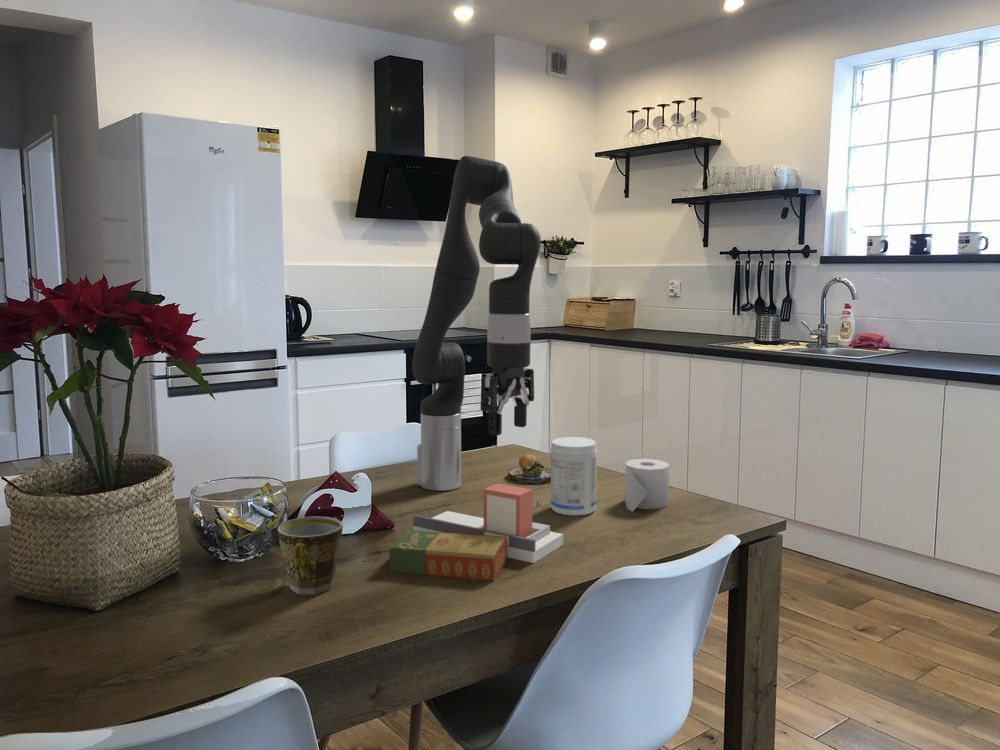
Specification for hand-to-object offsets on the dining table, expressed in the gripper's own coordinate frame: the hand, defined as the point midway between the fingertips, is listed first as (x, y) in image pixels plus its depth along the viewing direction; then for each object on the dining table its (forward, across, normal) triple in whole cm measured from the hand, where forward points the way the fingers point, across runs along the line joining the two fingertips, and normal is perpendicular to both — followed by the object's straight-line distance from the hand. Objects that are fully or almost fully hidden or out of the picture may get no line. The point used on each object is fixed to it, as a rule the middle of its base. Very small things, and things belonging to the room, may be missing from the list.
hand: (508, 430), depth 143 cm
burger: (+22, +45, +20) cm, 54 cm away
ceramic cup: (+22, -33, +16) cm, 43 cm away
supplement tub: (+22, +27, 0) cm, 35 cm away
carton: (+22, -12, +4) cm, 26 cm away
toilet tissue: (+22, +39, -11) cm, 46 cm away
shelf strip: (+22, +2, +5) cm, 23 cm away
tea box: (+20, 0, 0) cm, 20 cm away
